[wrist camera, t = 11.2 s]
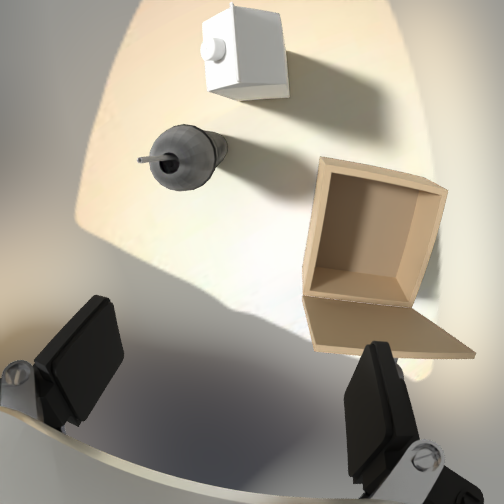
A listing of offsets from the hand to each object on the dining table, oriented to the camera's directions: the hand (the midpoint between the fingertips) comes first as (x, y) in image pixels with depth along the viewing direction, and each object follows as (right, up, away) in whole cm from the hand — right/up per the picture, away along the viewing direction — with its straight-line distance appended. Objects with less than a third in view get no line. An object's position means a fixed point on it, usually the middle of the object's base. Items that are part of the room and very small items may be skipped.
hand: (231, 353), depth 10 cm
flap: (+14, -4, +20) cm, 25 cm away
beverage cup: (-5, +18, +31) cm, 36 cm away
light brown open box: (+17, +8, +32) cm, 37 cm away
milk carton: (+2, +27, +25) cm, 37 cm away
